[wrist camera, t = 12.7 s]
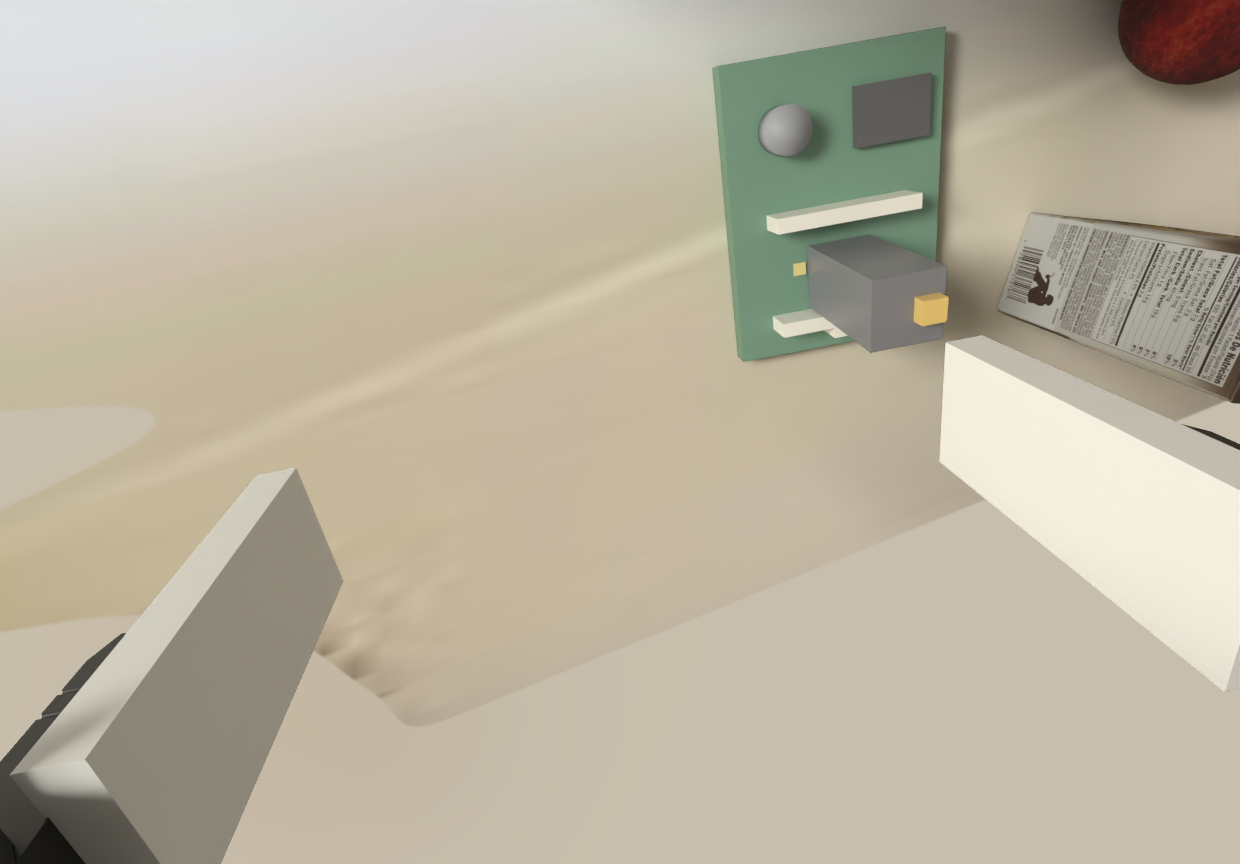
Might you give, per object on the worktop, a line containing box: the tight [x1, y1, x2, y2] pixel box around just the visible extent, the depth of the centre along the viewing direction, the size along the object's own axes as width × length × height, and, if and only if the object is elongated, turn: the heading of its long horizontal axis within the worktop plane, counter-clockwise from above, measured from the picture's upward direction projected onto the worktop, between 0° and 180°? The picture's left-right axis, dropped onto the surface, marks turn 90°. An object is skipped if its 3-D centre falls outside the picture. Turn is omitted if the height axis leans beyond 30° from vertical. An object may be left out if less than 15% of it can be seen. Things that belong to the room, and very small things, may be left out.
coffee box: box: [997, 213, 1240, 403], centre depth 34 cm, size 9×6×16 cm
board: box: [713, 27, 946, 362], centre depth 37 cm, size 16×12×3 cm
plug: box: [808, 234, 949, 353], centre depth 35 cm, size 4×4×9 cm
